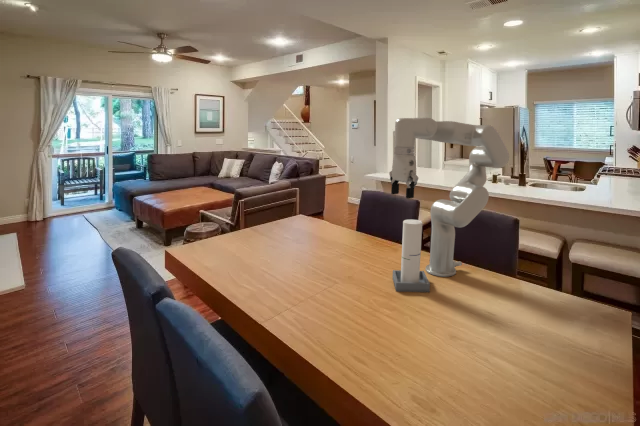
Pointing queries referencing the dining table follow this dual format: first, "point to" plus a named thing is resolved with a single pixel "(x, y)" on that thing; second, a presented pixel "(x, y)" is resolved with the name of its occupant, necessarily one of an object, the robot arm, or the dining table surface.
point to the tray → (411, 283)
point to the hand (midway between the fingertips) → (402, 195)
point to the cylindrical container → (411, 251)
